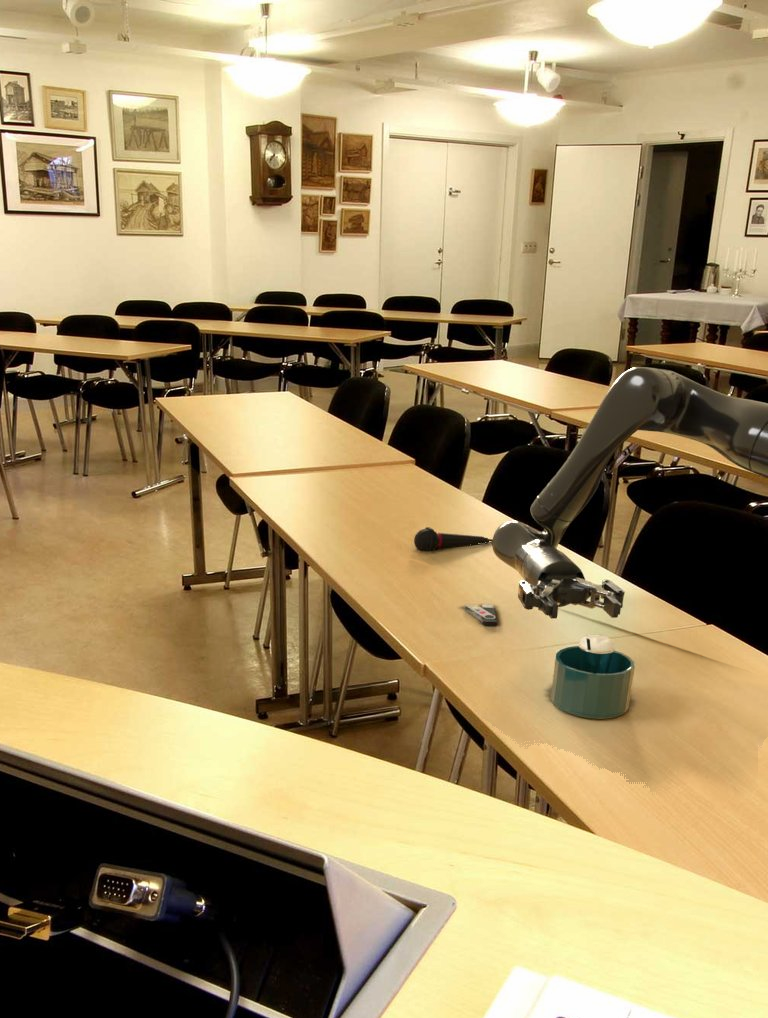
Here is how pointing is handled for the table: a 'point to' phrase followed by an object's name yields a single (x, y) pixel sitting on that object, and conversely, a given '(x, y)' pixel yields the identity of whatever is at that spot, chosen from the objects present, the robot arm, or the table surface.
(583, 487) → the robot arm
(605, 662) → the milkshake
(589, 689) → the bowl
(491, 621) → the usb flash drive
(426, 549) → the microphone
